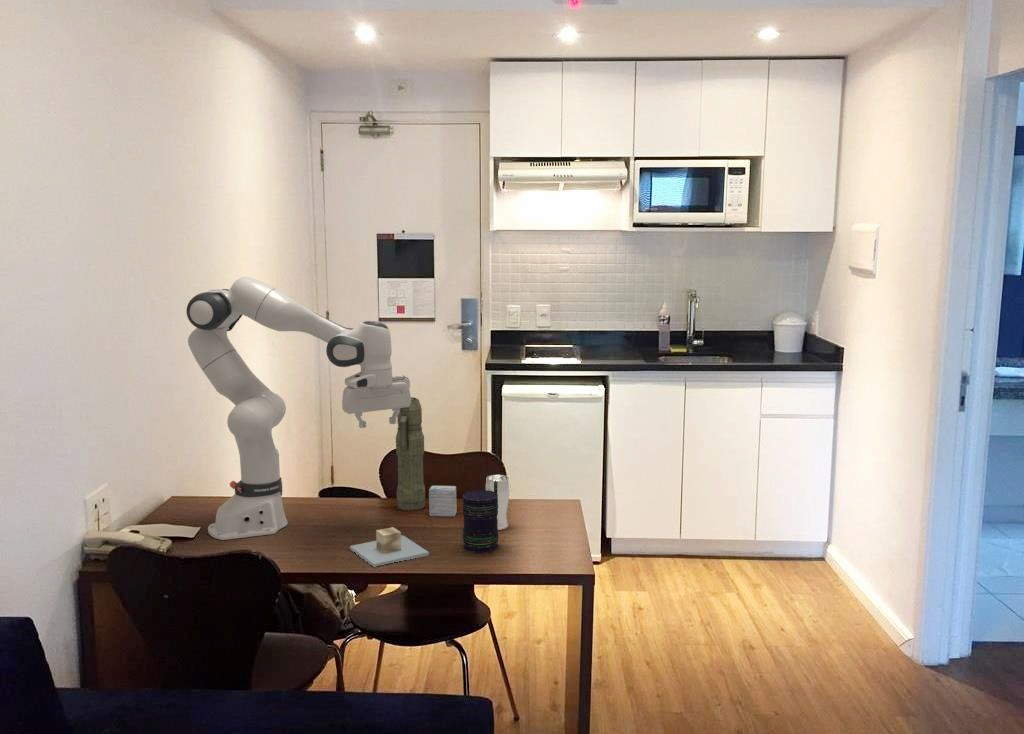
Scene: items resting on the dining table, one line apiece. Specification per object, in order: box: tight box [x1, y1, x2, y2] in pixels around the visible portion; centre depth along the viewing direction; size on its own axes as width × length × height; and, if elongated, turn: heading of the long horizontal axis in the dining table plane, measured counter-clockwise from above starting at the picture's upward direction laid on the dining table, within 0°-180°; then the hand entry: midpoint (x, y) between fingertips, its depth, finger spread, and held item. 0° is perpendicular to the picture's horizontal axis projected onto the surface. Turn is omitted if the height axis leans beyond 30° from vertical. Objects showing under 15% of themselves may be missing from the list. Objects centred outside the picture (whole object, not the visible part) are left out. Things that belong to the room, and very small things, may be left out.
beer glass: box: [485, 474, 510, 531], centre depth 260 cm, size 7×7×15 cm
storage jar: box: [462, 489, 499, 554], centre depth 243 cm, size 10×10×15 cm
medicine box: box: [428, 485, 458, 517], centre depth 272 cm, size 8×4×9 cm, turn 84°
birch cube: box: [375, 526, 402, 553], centre depth 240 cm, size 5×5×5 cm
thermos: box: [395, 397, 426, 511], centre depth 277 cm, size 9×12×35 cm
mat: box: [349, 534, 430, 568], centre depth 240 cm, size 16×16×1 cm
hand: (377, 425), depth 255 cm, fingers open, 8 cm apart
